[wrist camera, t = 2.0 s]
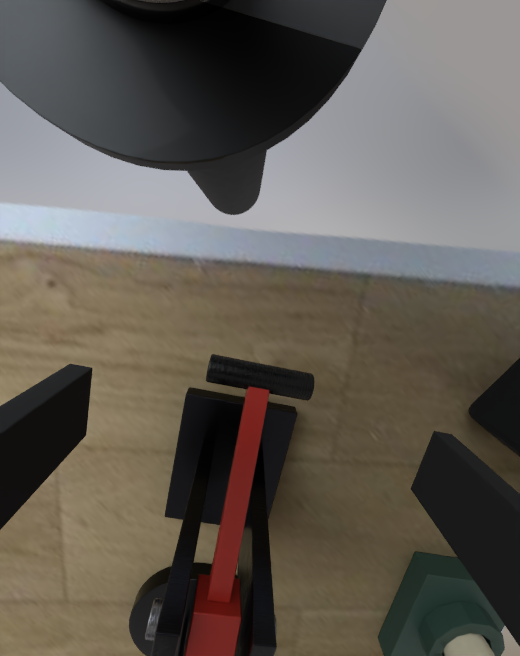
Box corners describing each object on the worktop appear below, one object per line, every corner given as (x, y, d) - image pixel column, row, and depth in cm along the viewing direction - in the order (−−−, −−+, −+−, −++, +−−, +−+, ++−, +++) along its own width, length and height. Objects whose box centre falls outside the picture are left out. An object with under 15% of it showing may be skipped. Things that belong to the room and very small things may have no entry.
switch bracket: (189, 386, 24) (113, 552, 11) (295, 406, 25) (349, 584, 11) (167, 505, 27) (86, 756, 13) (264, 520, 28) (278, 770, 14)
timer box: (414, 551, 29) (440, 596, 25) (506, 564, 30) (544, 610, 26) (377, 637, 32) (395, 690, 28) (462, 647, 33) (490, 700, 29)
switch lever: (212, 354, 17) (210, 353, 14) (306, 372, 17) (319, 375, 15) (154, 627, 15) (140, 679, 13) (260, 639, 15) (265, 691, 13)
